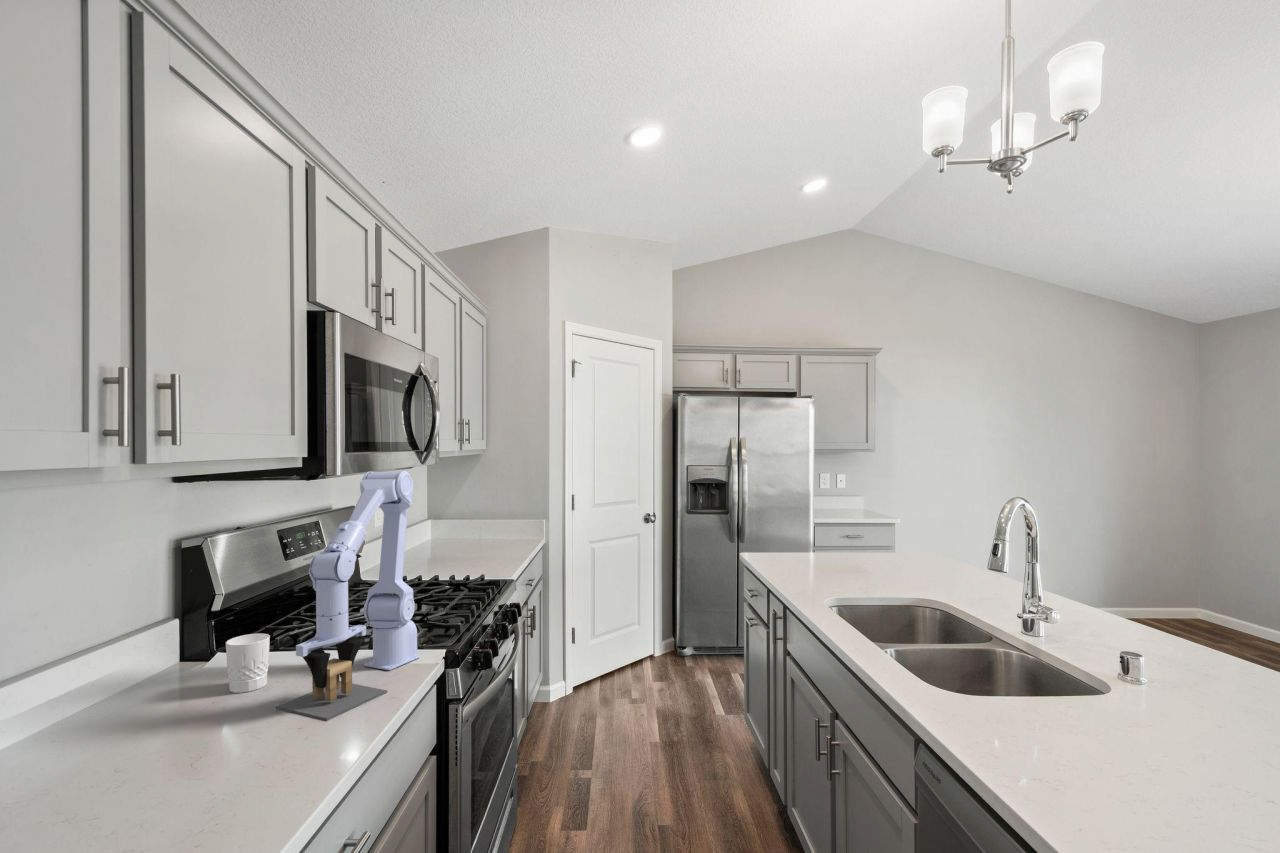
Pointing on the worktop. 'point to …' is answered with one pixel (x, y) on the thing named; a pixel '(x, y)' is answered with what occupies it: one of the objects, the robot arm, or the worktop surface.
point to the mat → (331, 702)
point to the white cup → (247, 662)
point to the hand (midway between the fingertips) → (333, 682)
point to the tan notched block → (335, 679)
